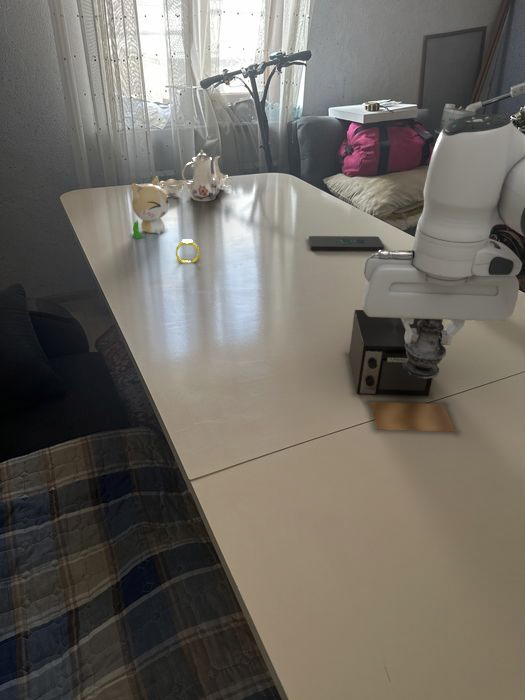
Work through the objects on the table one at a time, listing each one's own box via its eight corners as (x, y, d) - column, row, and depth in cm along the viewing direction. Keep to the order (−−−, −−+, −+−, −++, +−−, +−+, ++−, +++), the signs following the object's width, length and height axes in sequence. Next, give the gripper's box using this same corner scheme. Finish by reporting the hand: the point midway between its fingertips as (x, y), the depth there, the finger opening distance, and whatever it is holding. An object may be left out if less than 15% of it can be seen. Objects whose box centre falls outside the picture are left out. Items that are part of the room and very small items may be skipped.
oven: (412, 358, 96) (422, 311, 91) (430, 404, 85) (442, 353, 79) (348, 356, 97) (354, 309, 91) (357, 401, 85) (365, 351, 80)
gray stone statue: (392, 363, 78) (406, 291, 71) (422, 353, 80) (438, 283, 73) (419, 383, 73) (436, 309, 67) (449, 373, 75) (469, 300, 69)
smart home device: (384, 246, 139) (311, 246, 139) (383, 252, 140) (310, 252, 140) (378, 235, 146) (308, 235, 146) (377, 241, 147) (308, 241, 147)
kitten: (148, 243, 144) (141, 189, 136) (122, 236, 148) (114, 183, 140) (182, 228, 155) (178, 177, 147) (156, 221, 159) (151, 172, 151)
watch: (176, 265, 131) (174, 243, 128) (176, 261, 133) (174, 239, 130) (200, 264, 132) (198, 242, 129) (199, 260, 134) (198, 238, 131)
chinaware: (219, 189, 196) (214, 142, 188) (246, 194, 184) (242, 145, 176) (154, 202, 180) (147, 152, 173) (179, 209, 169) (172, 156, 161)
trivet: (443, 406, 84) (443, 404, 84) (454, 433, 79) (455, 431, 79) (370, 404, 85) (370, 401, 84) (376, 431, 79) (376, 428, 79)
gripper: (370, 259, 64) (357, 351, 72) (535, 264, 64) (505, 356, 71) (364, 240, 69) (352, 328, 77) (516, 245, 69) (489, 333, 76)
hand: (426, 342), depth 74 cm, fingers closed on gray stone statue, 3 cm apart
